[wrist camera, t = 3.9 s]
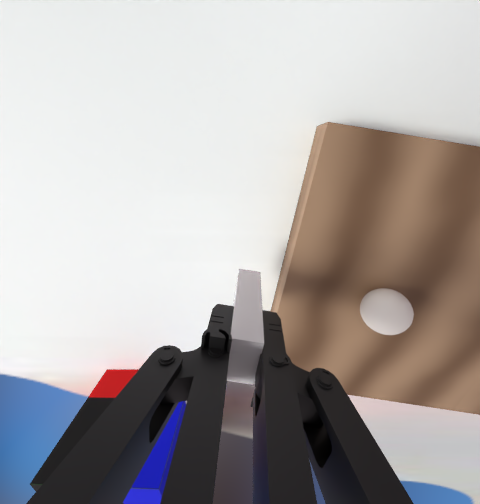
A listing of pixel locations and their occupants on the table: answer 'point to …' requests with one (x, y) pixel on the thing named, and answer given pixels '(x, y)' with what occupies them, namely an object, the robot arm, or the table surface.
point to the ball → (386, 311)
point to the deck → (387, 266)
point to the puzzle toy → (110, 385)
